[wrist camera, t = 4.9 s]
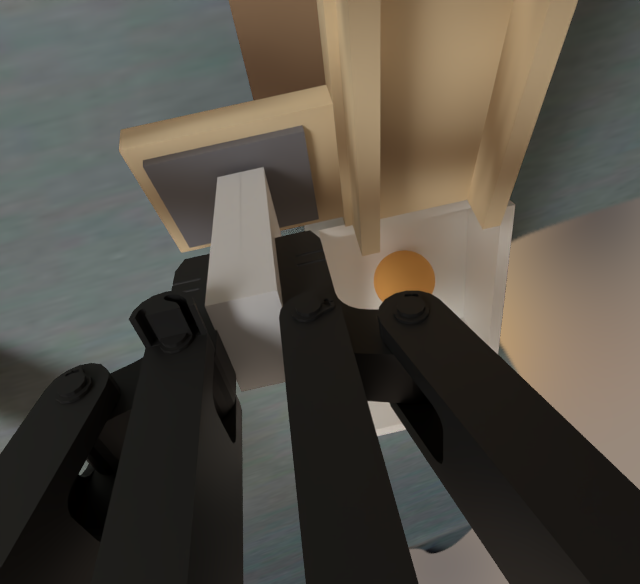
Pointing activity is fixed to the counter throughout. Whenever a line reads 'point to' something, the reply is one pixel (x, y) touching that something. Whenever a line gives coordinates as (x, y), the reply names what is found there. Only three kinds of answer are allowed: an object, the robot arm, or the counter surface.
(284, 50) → the stand
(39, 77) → the counter surface
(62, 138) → the counter surface
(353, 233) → the white open box
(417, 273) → the ball
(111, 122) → the counter surface
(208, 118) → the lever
